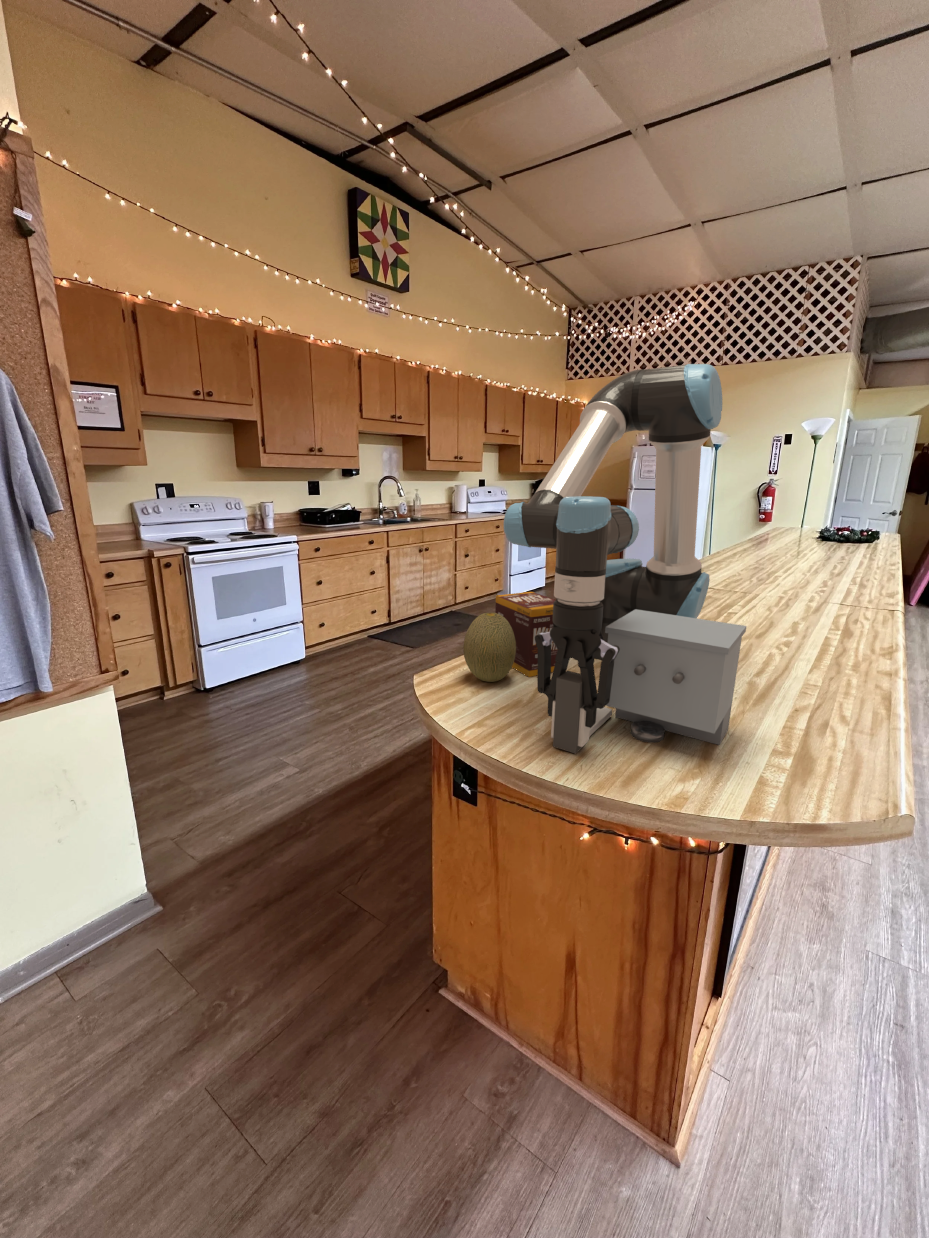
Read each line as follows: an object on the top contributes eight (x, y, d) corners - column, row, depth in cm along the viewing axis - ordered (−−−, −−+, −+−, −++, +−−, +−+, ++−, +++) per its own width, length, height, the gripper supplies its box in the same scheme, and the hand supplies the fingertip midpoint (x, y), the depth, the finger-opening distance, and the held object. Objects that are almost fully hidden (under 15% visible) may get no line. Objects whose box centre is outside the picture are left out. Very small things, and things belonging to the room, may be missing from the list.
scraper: (552, 746, 89) (556, 677, 86) (593, 710, 102) (598, 650, 99) (575, 753, 87) (580, 683, 84) (614, 715, 100) (619, 654, 97)
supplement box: (528, 678, 119) (531, 609, 115) (493, 657, 132) (494, 594, 128) (566, 670, 124) (570, 604, 120) (528, 651, 137) (531, 590, 133)
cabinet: (594, 733, 94) (602, 628, 89) (626, 703, 107) (635, 609, 102) (710, 767, 83) (727, 650, 78) (731, 729, 96) (746, 625, 91)
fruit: (452, 679, 118) (452, 612, 114) (486, 666, 126) (487, 603, 122) (492, 693, 111) (494, 623, 107) (526, 679, 119) (528, 612, 115)
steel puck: (625, 736, 93) (626, 728, 93) (637, 725, 98) (637, 717, 97) (657, 747, 90) (658, 738, 90) (668, 735, 94) (669, 726, 94)
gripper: (517, 597, 85) (513, 733, 91) (624, 613, 75) (611, 764, 81) (540, 588, 91) (534, 717, 97) (642, 603, 81) (628, 744, 87)
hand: (569, 738), depth 89 cm, fingers closed on scraper, 4 cm apart
